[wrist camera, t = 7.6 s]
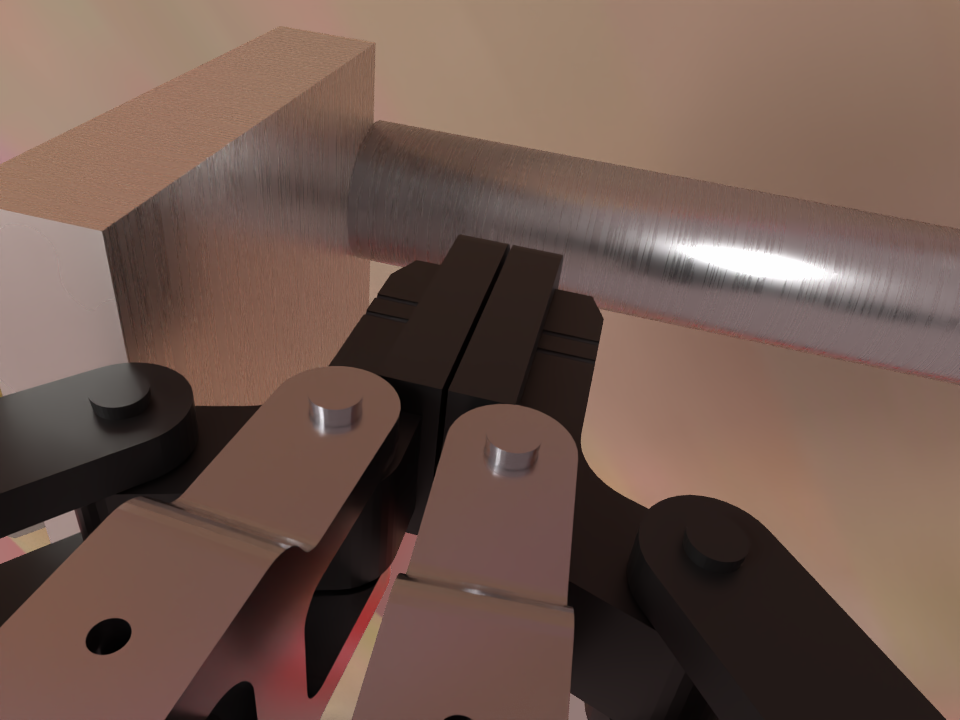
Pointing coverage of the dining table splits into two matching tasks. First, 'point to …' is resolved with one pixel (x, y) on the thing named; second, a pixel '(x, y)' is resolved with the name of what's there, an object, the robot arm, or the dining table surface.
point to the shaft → (403, 236)
